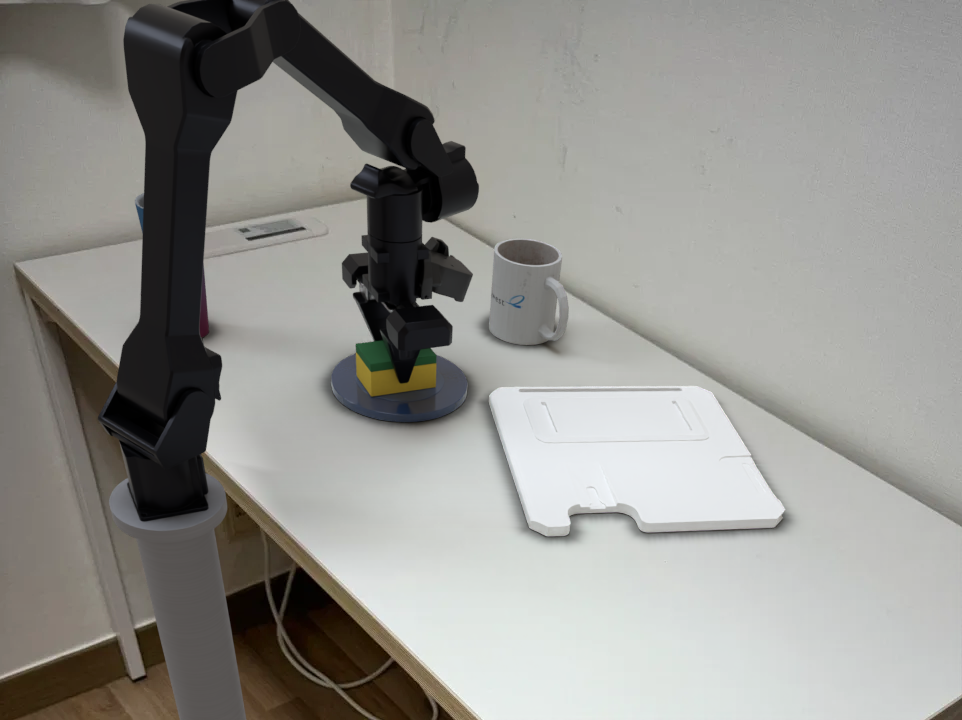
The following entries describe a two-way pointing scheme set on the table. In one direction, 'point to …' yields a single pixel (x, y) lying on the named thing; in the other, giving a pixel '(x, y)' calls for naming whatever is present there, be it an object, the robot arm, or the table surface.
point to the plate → (401, 394)
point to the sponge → (392, 370)
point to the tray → (630, 458)
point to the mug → (527, 292)
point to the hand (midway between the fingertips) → (395, 371)
